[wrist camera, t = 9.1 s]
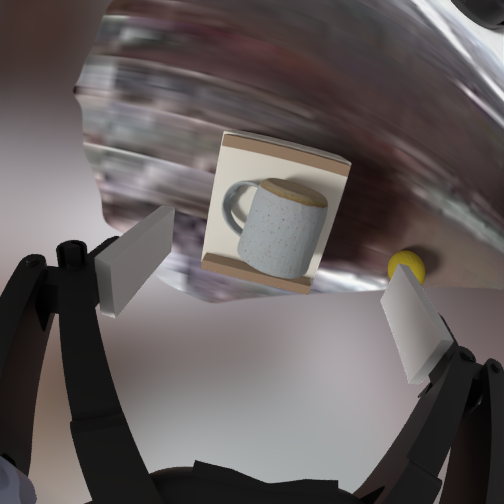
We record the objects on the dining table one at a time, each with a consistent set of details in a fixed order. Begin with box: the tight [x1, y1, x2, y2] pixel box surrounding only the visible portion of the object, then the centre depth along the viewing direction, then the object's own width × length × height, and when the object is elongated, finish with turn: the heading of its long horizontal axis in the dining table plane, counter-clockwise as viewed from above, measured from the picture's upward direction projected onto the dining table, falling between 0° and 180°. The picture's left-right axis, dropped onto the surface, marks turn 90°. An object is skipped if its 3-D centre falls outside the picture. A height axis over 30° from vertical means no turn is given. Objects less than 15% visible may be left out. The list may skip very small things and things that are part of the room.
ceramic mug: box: [221, 178, 328, 279], centre depth 28 cm, size 11×8×8 cm
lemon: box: [388, 250, 426, 286], centre depth 37 cm, size 6×6×8 cm
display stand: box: [201, 130, 352, 295], centre depth 35 cm, size 14×16×10 cm
